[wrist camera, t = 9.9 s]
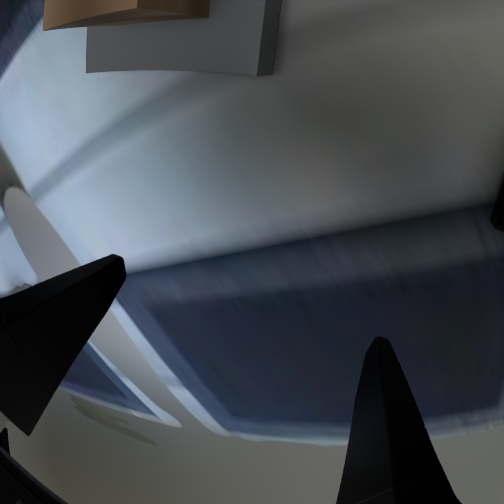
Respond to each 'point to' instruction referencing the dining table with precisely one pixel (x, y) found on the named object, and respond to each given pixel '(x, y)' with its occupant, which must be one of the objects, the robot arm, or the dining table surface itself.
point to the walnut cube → (119, 12)
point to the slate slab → (192, 41)
